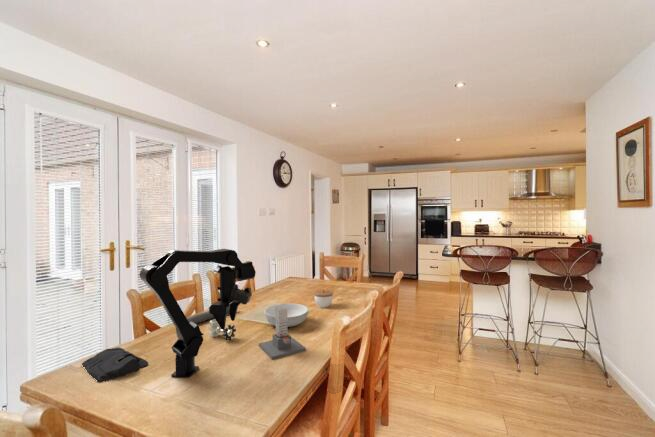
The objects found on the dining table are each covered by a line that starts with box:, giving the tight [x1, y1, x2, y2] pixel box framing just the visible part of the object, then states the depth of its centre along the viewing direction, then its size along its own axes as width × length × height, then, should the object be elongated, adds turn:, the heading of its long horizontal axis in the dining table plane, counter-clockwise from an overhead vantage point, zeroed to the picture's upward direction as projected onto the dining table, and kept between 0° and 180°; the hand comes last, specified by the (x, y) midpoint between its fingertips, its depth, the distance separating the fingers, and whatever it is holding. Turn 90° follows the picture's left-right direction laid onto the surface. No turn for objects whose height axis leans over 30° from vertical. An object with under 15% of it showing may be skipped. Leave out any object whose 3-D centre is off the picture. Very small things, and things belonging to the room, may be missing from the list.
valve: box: [208, 318, 237, 341], centre depth 135 cm, size 7×7×12 cm
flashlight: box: [186, 310, 229, 324], centre depth 159 cm, size 5×28×5 cm, turn 146°
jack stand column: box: [275, 307, 289, 338], centre depth 124 cm, size 4×4×11 cm
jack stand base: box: [258, 333, 307, 360], centre depth 124 cm, size 14×14×5 cm
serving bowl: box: [263, 302, 309, 328], centre depth 151 cm, size 21×21×7 cm
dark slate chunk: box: [81, 346, 149, 383], centre depth 111 cm, size 15×22×5 cm
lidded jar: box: [313, 289, 334, 309], centre depth 179 cm, size 11×11×9 cm
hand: (228, 324), depth 117 cm, fingers open, 9 cm apart
